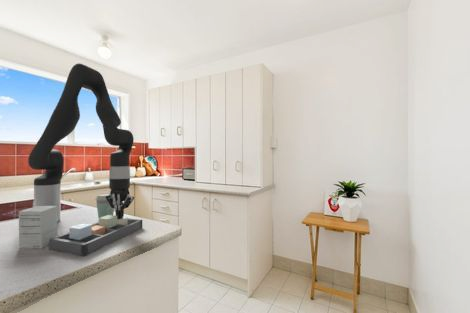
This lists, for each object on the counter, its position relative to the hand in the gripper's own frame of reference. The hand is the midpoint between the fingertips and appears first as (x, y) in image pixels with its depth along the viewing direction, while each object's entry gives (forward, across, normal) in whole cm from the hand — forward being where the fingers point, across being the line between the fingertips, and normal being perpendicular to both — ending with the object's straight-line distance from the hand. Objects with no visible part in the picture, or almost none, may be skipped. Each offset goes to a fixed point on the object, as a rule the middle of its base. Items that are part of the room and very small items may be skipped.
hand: (119, 218), depth 88 cm
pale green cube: (+1, 0, -5) cm, 6 cm away
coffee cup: (+5, -18, +10) cm, 21 cm away
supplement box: (+5, -16, -19) cm, 25 cm away
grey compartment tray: (+5, 0, -8) cm, 10 cm away
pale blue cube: (+1, 0, -16) cm, 17 cm away
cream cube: (+4, 0, 0) cm, 4 cm away
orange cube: (+4, 0, -11) cm, 12 cm away
